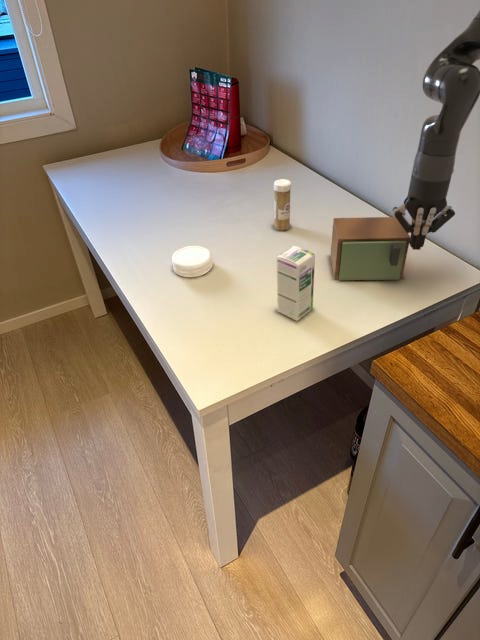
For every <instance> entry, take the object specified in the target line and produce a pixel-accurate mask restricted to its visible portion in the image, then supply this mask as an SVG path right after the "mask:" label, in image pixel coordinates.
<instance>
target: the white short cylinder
mask: <svg viewBox="0 0 480 640" xmlns="http://www.w3.org/2000/svg"><path fill="white" fill-rule="evenodd" d="M171 262H172V269H173V272H174V273H175V274H176V275H178V276H181V277H184V278H197V277H201V276H204V275H205V274H207V273H208V272H210V271H211V269H212V267H213V257H212V253H211V250H209V249H208V248H206V247H204V246H199V245H188V246H185V247H182V248H179V249H178V250H176V251H175V252H174V253H173V254H172V257H171Z"/></svg>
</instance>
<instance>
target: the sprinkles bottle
mask: <svg viewBox="0 0 480 640" xmlns="http://www.w3.org/2000/svg"><path fill="white" fill-rule="evenodd" d="M273 182H274V183H273V191H274V198H273V199H274V201H273V210H274V211H273V217H274V225H273V227H274V229H275V230H277V231H287V230H289V229H290V228H291V223H290V222H291V190H292V182H291V181H290V180H289V179H284V178H281V179H277V180H275V181H273Z"/></svg>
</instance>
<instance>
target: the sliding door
mask: <svg viewBox="0 0 480 640" xmlns="http://www.w3.org/2000/svg"><path fill="white" fill-rule="evenodd" d="M405 248H406V241H368V242H343V244H342V254H341V263H340V273H339V279H338V280H339V281H379V280H380V281H381V280H383V281H384V280H385V281H386V280H390V281H391V280H392V281H393V280H400V279H401V278H400V273H401V268H402V263H403V258H404V253H405Z"/></svg>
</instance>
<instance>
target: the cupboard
mask: <svg viewBox="0 0 480 640" xmlns="http://www.w3.org/2000/svg"><path fill="white" fill-rule="evenodd" d="M332 221H333V222H332V232H331V242H330V243H331V245H330V254H329V255H330V256H329V257H330V258H329V259H330V263H331V268H332V274H333V279H334V280H339V273H340V263H341V254H342V244H343V242H368V241H406V248H405V253H404V258H403V263H402V268H401V273H400V278H399V279H403V276H404V271H405V266H406V262H407V258H408V251H409V247H410V243H409V241H410V236H411V235H410V233H406V231H405V230H404V228H403V227H402V226H401V224H400V223H399V221H398V220H397V219H396V217H395V216H377V217H375V216H374V217H372V216H371V217H370V216H369V217H333V220H332Z"/></svg>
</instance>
